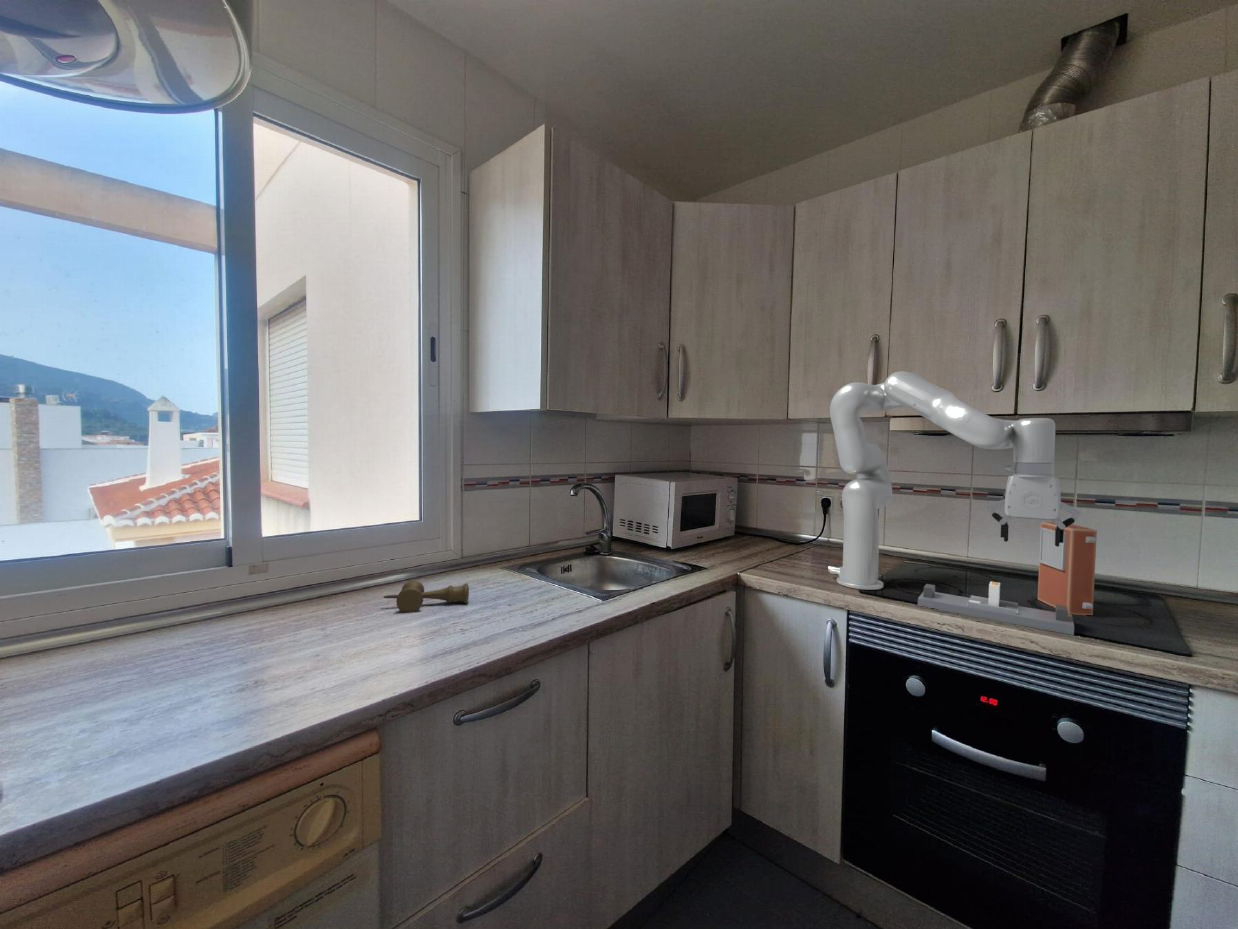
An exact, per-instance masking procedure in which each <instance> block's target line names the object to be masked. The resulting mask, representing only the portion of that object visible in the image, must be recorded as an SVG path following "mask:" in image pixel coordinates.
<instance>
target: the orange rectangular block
mask: <svg viewBox="0 0 1238 929" xmlns="http://www.w3.org/2000/svg"><path fill="white" fill-rule="evenodd" d="M1055 528H1057V525H1056V524H1055V523H1054V522H1053V521H1051V522H1050V521H1041V522H1040V536H1039V537H1040V538H1039V539H1040V540H1039V555H1038V556H1039V560H1038V584H1037V585H1038V586H1037V600H1039V601H1041V602H1043V603H1044V604H1047V605H1048V606H1050V607H1052V606H1053V607H1052V608H1054V609H1056V605H1062V606H1067V608H1068V614H1069V615H1072V614H1073V615H1075V616H1086V615H1094V600H1095V599H1094V598H1095V597H1094V595H1095V594H1094V593H1095V579H1096V578H1095V575H1096V559H1097V558H1096V557H1097V556H1096V554H1097V552H1096V551H1097V539H1098V538H1097V537H1098V535H1097V534H1098V533H1097V532H1098V530H1096V529H1094V528H1090V527H1084V526H1081V525H1080V526H1079V525H1075V524H1073V523H1072V524H1071V525H1069V526H1068V527H1066V528H1065V529H1064V538H1063V543H1059V547H1057V546H1055ZM1073 615H1072V616H1073Z"/></svg>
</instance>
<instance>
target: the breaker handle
mask: <svg viewBox="0 0 1238 929" xmlns="http://www.w3.org/2000/svg"><path fill="white" fill-rule="evenodd" d="M1000 597H1001V582H996V581H991V580H990V582H989V584H988V598H989V599H988V605H992V606H998V607H999V604H1000V600H1001V598H1000Z"/></svg>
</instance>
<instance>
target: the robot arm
mask: <svg viewBox="0 0 1238 929" xmlns="http://www.w3.org/2000/svg"><path fill="white" fill-rule="evenodd" d="M829 405H830V406H829V407H830V408H829V416H830V422H831V424H832V425H831V426H832V430H833V433H834V442H835V444H836V450H837V456H838V461H839V464H840V468H841V469H842V471H844V472H845V473H847V474H850V475H856V478H855V479H853V480H850V481H849V482H848V483H846V484H845V486H844V487H843V490H842V493H841V502H842V503H841V504H842V510H843V511H842V512H843V543H842V545H843V548H842V550H843V551H842V566H839V567H837V566H833V565H829V566H828V569H827V570H828V572H829V574H833V575H838V576H837V577H836V582H837V583H838V584H839V585H840V586H844V587H847V588H852V589H855V590H856V589H857V590H868V591H870V590H871V591H872V590H874V591H875V590H881V589H883V588H884V582H883V581H881V580H879V555H880V554H879V553H880V550H879V549H880V548H879V547H880V521H879V520H880V519H879V514H878V509H882V508H884V507H886V506H888V504H889V503H890V502H891V501H892V498H893V486H892V482H891V478H890V473H889V472H890V471H889V469H888V464H887V459H886V457H885V454H884V452H883V451H882V450H881V449H880V447H878V446H877V445H876V444H872V443H868V439H867V435H866V429H865V426H864V423H863V421H862V419H861V416H860V413H868V414H869V413H870V414H874V413H880V412H884V411H888V410H894V409H897V408H901V407H904V408H907V409H908V410H910V411H912V412H914V413H916V414H918V415H919V416H921V417H923V418H925V419H927V420H928V421H931V422H932V423H933V424H935V425H936V426H938V427H940V428H942V429H943V430H945V431H947V432H949V433H950V434H952V435H954V436H956V437H958V438H960V439H961V440H963V441H965V442H966V443H969V444H971V445H973V446H975V447H977V448H980V449H985V450H1004V449H1005V450H1007V449H1013V450H1012V451H1013V457H1012V463H1011V464H1006V465H1005V472H1006V471H1009V472H1011V473H1012V475H1008V477H1007V482H1006V487H1005V494H1004V497H1005V498H1003V499H1001V500H999V501H996V502H993V503H990V504H988V505H987V506H986V509H987V511H988V512H989V513H990V515H991V516H992V518H994V519H995V521H997V522H998V523H999V525H1000V538H1003V542H1009V541H1008V540H1009V524H1008V522H1009V521H1010V520H1011V519H1013V518H1014V519H1024V520H1025V519H1028V520H1040V521H1051V522H1054V523H1055V524H1056V525H1057V528H1055V546H1057V547H1059V543H1063V538H1064V529H1065V528H1066V527H1068V526H1069V525H1071V524H1072V525H1073V524H1074V523H1075V522H1076V520H1077V519H1078V518H1079V517H1080V516H1081V514H1082V511H1081V510H1079V509H1077V508H1075V507H1073V506H1071V505H1070V504H1069V505H1068V504H1067V503H1065V502H1062V501H1061V500H1062V499H1061V486H1060V480H1059V477H1058V476H1057V477H1056V476H1055V453H1056V452H1055V445H1056V423H1055V421H1054V420H1053V419H1052V418H1049V417H1032V418H1031V417H1029V418H1028V417H1027V418H1020V419H1018V420H1010V419H1000V418H995V417H992V416H990V415H989V414H986V413H984V412H982V411H980V410H977V409H976V408H973V407H972V406H970V405H967V404H966V403H964V402H963V401H961V400H960V399H958V398H957V396H956V395H955V394H954V393H953V392H952V391H949V390H947V389H945V388H943V387H941V386H938V385H936V384H934V383H932V382H930V381H928V380H926V378H924V377H923V376H921V375H919V374H917V373H914V372H909V371H904V370H903V371H902V370H900V371H896V372H893V373H891V374H890V375H888V377H887V378H886V379H885V381H884V382H881V383H878V384H871V383H870V384H869V383H865V382H858V381H857V382H851V383H847V384H845V385H844V386H842V387H840V388H839V389H838V390H837V391H836V393H835V394H834V395H833V397H832V399H831V402H830V404H829ZM1003 506H1004V514H1005V515H1004V516H1003V517H1002V516H1001V515H1000V514H999V513H998V512H997V510H996V509H997V508H1000V507H1003ZM1062 510H1064V511H1066V512H1067V513H1070V515H1069V517H1067V518H1066V519H1065V520H1063V521H1062V520H1061V519H1060V517H1061V513H1062Z"/></svg>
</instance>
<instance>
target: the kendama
mask: <svg viewBox="0 0 1238 929" xmlns="http://www.w3.org/2000/svg"><path fill="white" fill-rule="evenodd" d="M469 596H470V587H469V583H466V582H465V583H464V584H463V585H460V586H453V585H451V584H449V585H448V586H447V587H445V588H442V589H437V590H432V591H425V586H424V585H423V583H422V582H420V581H418V580H417V581H416V580H411V581H407V582H406V583H404V584H403V586H402V587H401V591H400V592H399V593H398V594H387V595H384V596H383V599H396V600H395V602H396V607H397V608H398V610H399V611H401V612H402V613H406V614H407V613H414V612H417V611H418V610H420V609H421V608H422V606H423V603H424V599H430V600H431V599H432V600H441V601H445V602H447V603H448V604H451V603H452V602H461V603H463V604H468V602H469V598H470V597H469Z"/></svg>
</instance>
